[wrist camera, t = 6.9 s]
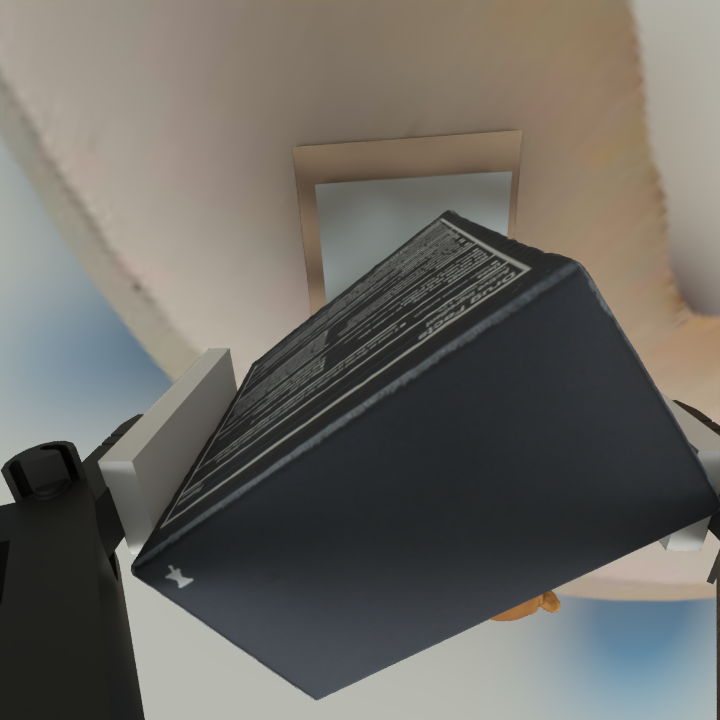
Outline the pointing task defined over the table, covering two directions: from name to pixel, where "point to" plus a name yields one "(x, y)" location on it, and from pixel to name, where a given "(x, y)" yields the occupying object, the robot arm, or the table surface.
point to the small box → (423, 463)
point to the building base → (392, 166)
